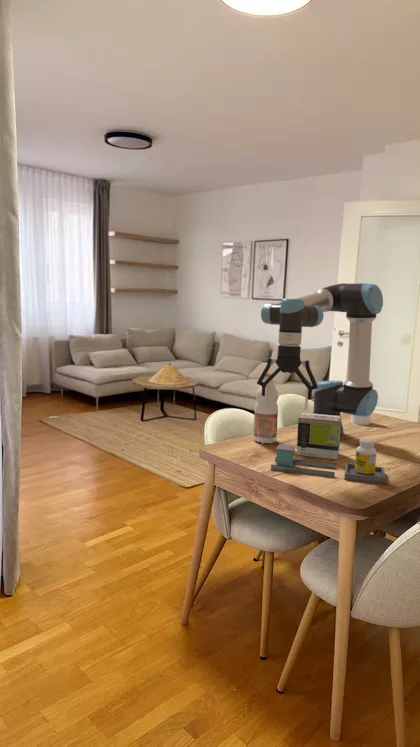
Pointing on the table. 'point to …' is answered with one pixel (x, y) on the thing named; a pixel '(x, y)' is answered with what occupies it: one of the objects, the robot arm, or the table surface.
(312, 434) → the tea box
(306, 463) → the guide rail
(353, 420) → the white cylinder
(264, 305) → the robot arm
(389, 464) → the table surface
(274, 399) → the fruit juice
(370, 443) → the pill bottle
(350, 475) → the tray
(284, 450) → the teal and grey cube
